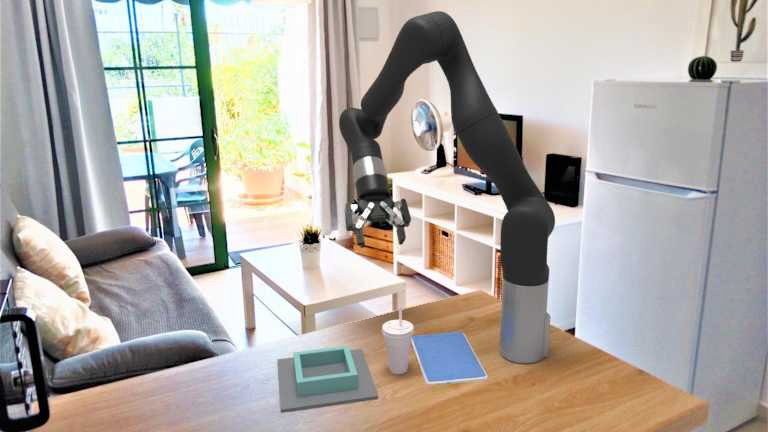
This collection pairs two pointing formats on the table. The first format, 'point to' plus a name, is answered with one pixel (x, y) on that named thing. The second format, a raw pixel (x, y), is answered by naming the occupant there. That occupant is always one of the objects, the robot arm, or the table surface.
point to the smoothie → (398, 343)
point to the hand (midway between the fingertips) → (382, 244)
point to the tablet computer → (447, 359)
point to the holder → (324, 378)
